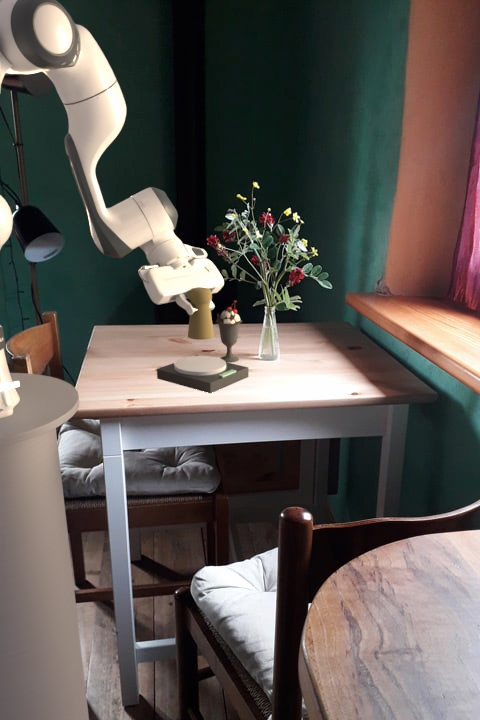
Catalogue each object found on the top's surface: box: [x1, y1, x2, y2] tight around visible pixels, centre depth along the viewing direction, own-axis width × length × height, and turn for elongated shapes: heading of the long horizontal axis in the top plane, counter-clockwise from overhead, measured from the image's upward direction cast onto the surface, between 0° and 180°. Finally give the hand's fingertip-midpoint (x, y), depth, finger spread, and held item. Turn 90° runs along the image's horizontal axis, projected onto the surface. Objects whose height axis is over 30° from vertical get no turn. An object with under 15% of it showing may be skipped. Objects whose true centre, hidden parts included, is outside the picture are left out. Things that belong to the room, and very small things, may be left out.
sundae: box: [215, 300, 243, 363], centre depth 155 cm, size 7×7×15 cm
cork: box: [187, 287, 215, 341], centre depth 138 cm, size 6×6×11 cm
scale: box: [156, 354, 250, 394], centre depth 143 cm, size 14×16×3 cm
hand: (202, 311), depth 138 cm, fingers closed on cork, 4 cm apart
